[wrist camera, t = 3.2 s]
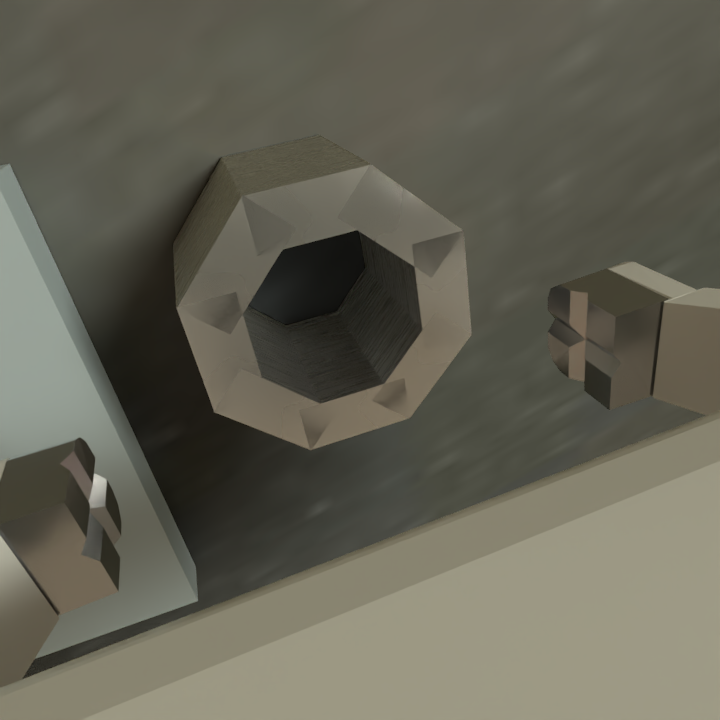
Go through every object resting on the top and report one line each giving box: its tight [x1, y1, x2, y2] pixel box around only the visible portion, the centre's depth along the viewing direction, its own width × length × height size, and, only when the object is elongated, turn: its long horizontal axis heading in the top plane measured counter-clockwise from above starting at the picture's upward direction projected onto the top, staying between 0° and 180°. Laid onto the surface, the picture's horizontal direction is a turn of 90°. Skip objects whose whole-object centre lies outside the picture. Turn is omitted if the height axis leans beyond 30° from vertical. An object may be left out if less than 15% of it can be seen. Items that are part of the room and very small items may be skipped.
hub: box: [173, 135, 472, 450], centre depth 15 cm, size 6×6×4 cm
